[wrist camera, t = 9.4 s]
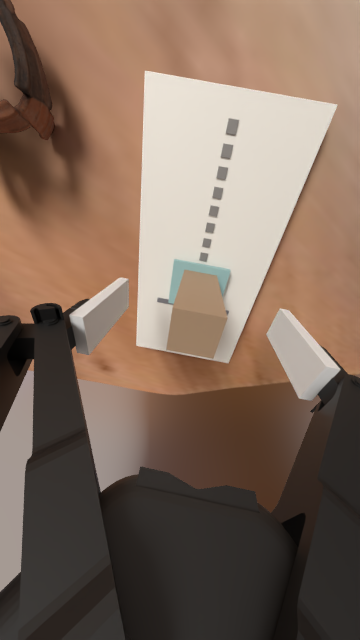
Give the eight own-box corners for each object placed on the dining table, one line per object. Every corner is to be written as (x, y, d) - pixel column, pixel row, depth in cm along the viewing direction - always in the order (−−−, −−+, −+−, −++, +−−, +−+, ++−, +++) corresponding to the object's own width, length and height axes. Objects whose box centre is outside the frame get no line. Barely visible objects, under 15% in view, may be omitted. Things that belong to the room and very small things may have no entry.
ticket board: (325, 114, 14) (338, 103, 12) (227, 356, 27) (228, 363, 26) (150, 83, 14) (144, 69, 12) (139, 339, 27) (136, 346, 26)
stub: (229, 269, 19) (251, 311, 10) (217, 309, 21) (227, 369, 13) (174, 258, 19) (153, 292, 11) (169, 300, 21) (148, 353, 13)
